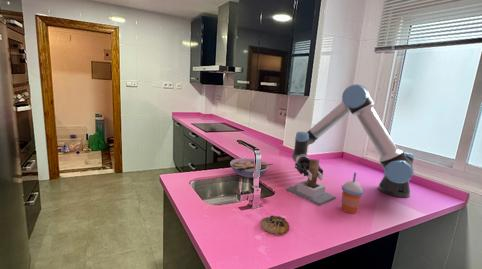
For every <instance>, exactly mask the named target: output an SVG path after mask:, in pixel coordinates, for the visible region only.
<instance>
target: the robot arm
mask: <svg viewBox="0 0 482 269" xmlns="http://www.w3.org/2000/svg"><path fill="white" fill-rule="evenodd" d="M370 93H371V92H370V91H369V88H367V87H366V86H364V85H361V84H357V83H356V84H352V85H349V86H348V87H346V88H345V89H344V91H343V92H342V96H341V102H340V103H339V104H338V105H337V106H335V107H334V108H333V109H332V110H331V111H330V112H329V113H327V114H326V115H325V116H324V117H323V118H321V119H320V120H319V121H318V122H317V123H316V124H315V125H314V126H312V127H311V128H310V129H309V130H308V131H297V132H296V133H295V137H294V139H295V140H294V148H293V151H292V153H291V157H292V160H293V161H294V168H295V169H296V170H297V171H298V172H299V174H301V175H303V176H304V177H307V179H308V178H309V179H310V180H312V174H311V173H310V171H309V165H310V158H309V157H308V156H307V154H308V146H309V145H312V144H314V143H315V142H316V141H317V140H318V139H319V138H320V137H322V136H323V135H324V134H326V133H327V132H328V131H329V130H330V129H331V128H333V127H334V126H335V125H337V124H338V123H339V122H340V121H341V120H342V119H344V118H345V117H346V116H347V115H349V114H350V113H351V115H352V116H356V117H357V119H358V120H359V122H360V125H361V126H362V128H363V129H364V131H365V133H366V135H367V136H368V138H369V140H370V141H371V143H372V145H373V146H374V148H375V150H376V151H377V154H378V155H379V159H378V162H379V163H380V165H381V166H382V169H383V171H384V174H383V175H384V176H383V177H382V178H381V179H380V181H379V184H378V187H377V188H378V190H379V191H381V192H382V193H384V194H387V195H388V196H393V197H397V198H409V197H410V196H411V188H410V180H412V178H413V176H414V167H413V162H414V159H415V155H414V154H413V153H411V152H407V151H403V150H401V149H399V148H398V147H397V146H396V144H395V142H394V141H393V139H392V137H391V136H390V134H389V132H388V130H387V128H386V127H385V126H384V124H383V122H382V121H381V119H380V117H379V115H378V114H377V112H376V110H375V108H374V105H375V102H374V101H373V99H372V97H371V95H370ZM323 175H324V170H323V168H321V166H319V168H318V175H317V179H319V181H320V182H321V181H323Z"/></svg>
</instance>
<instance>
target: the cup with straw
mask: <svg viewBox="0 0 482 269" xmlns="http://www.w3.org/2000/svg"><path fill="white" fill-rule="evenodd" d="M356 178H357V172H353V178H352V180H348V181H347V182H345V183H344V184H343V185H342V186H341V190H342V193H341V210H342V211H344V212H345V213H348V214H356V213H357V210H358V208H359V206H360V203H361V200H362V199H361V198H362V195H364V193H365V191H364V189H363V187H362V185H361V184H360V183H359V182H357V181H356Z"/></svg>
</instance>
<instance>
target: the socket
mask: <svg viewBox="0 0 482 269" xmlns="http://www.w3.org/2000/svg"><path fill="white" fill-rule="evenodd" d="M307 181H308V179H306V180H305V181H301V182H299V183H297V184H295V185H293V186H290V187H286V189H285V191H286V192H289V193H291V194H293V195H295V196H298V197H300V198H302V199H304V200H306V201H308V202H311V203H313V204H314V205H316V206H319V207H320V206H323V205H325V204H327V203H329V202H331V201H333V200H335V199H336V195H333V194H331V193H329V192H326V187H327V186H325V185H324V184H321V183H318V182H316V188H311V187H308V186H307Z"/></svg>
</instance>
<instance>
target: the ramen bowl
mask: <svg viewBox="0 0 482 269" xmlns="http://www.w3.org/2000/svg"><path fill="white" fill-rule="evenodd" d="M254 159H255V158H250V157H249V158H248V157H247V158H246V157H243V158H236V159H235V158H234V159H233V160H231V161H230V162H229V163H230V164H229V165H230V167H231V169H232V170H233V171H234V173H236V174H237V175H239V176H242V177H243V178H246V179H253V178H254V177H253V173H254ZM272 165H273V163H267V162H265V161H263V160H261V169H260V176H263V174H265V172H266V171H267V170H268V169H269V168H270V166H272Z"/></svg>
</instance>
